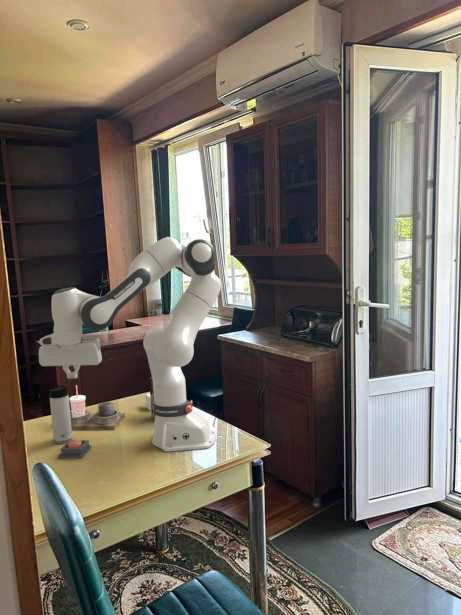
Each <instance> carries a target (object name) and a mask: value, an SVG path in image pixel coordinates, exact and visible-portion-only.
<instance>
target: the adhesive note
mask: <svg viewBox="0 0 461 615" xmlns="http://www.w3.org/2000/svg"><path fill="white" fill-rule="evenodd" d="M145 401H146V402H145V405H146V408H147V410H149V412H151V398H150V392H149V393H145Z"/></svg>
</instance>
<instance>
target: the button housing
mask: <svg viewBox="0 0 461 615" xmlns="http://www.w3.org/2000/svg"><path fill="white" fill-rule="evenodd" d="M73 440H74V439H72V440H69V441H68V442H67V443H64V445H63V446H62V447H61V448H60V454H59V455H58V458H59V459H83V458H84V457H85V456H86V455H87V454H88V452H90V450H91V449H92V444H90V442H89V439H80V440H81V441H82V445H81V446H80V448H68V443H69V442H70V441H73Z"/></svg>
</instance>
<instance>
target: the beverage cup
mask: <svg viewBox="0 0 461 615" xmlns="http://www.w3.org/2000/svg"><path fill="white" fill-rule="evenodd" d="M75 390H76V391H75V392H76V393H75V394H76V395H73V396H70V397H69V403H70V409H71V411H72V416H73V417H79V416H83V415H85V409H86V398H87V397H86V395H83V394H79V393H78V385H77V384H76V385H75Z"/></svg>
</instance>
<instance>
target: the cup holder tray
mask: <svg viewBox="0 0 461 615" xmlns="http://www.w3.org/2000/svg"><path fill="white" fill-rule="evenodd" d="M97 408H98V410H97V411H96V412H95V413H91V411H90V410H88V409H86V408H85V415H83V416H79V417H73V416H72V410H70V419H71V430H72V431H97V430H98V431H105V430H106V431H107V430H109V431H114V430H116V429H117V428H118V427H119V425H120V424H121V423H122V421H123V420H124V419H125V418H126V416H125V415H126V413H120V410H117V409H116V408H115V402H112V401H111V402H110V401H106V402H105V401H104V402H102V403H99V404H98V405H97Z"/></svg>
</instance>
